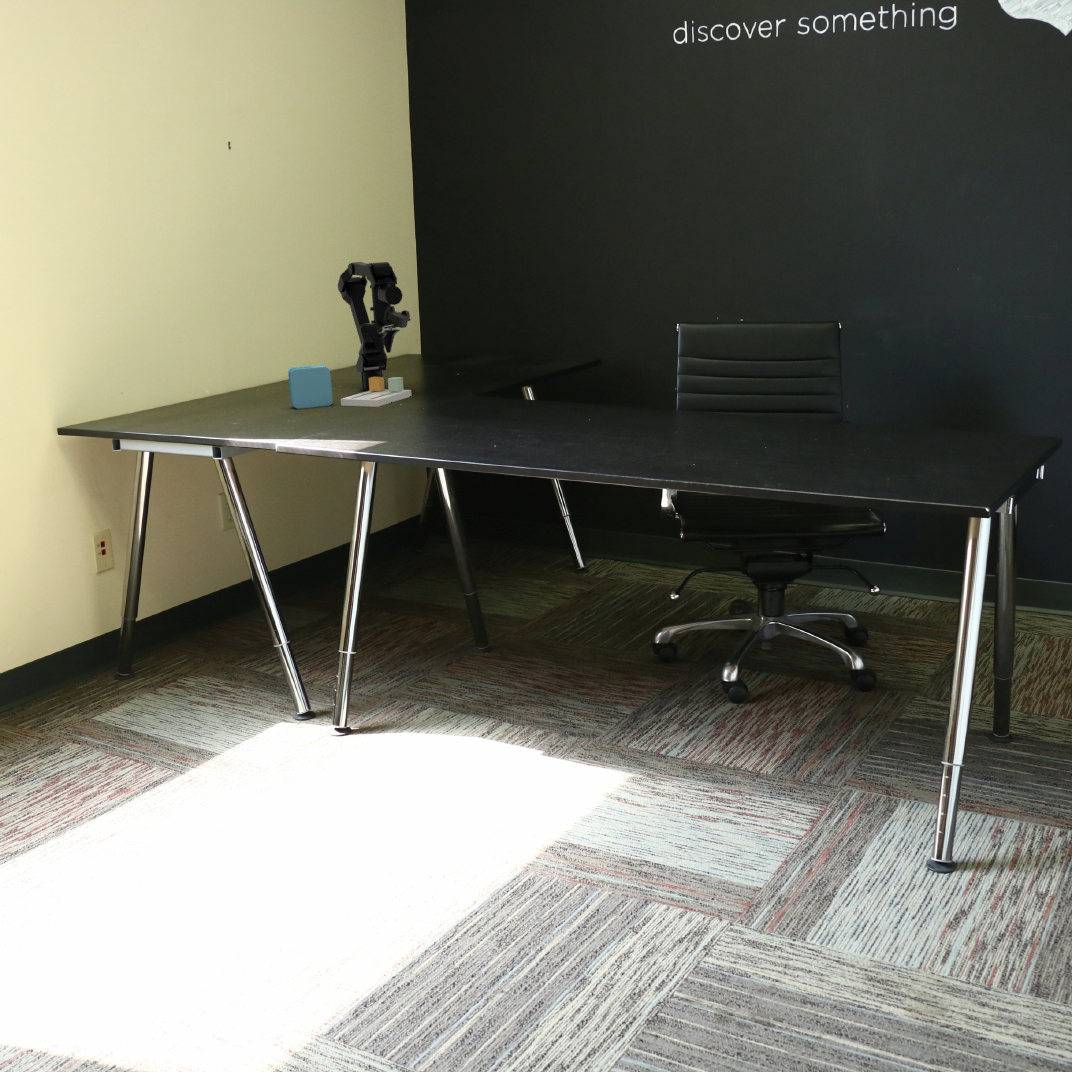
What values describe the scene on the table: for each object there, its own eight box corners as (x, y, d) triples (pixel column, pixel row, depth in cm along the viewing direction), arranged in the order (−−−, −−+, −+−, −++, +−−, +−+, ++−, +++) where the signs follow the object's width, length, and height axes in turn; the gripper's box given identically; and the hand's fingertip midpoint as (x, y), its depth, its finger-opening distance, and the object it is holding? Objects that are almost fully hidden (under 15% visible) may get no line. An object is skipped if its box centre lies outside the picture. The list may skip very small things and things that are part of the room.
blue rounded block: (330, 403, 361) (327, 364, 358) (333, 405, 357) (329, 366, 354) (291, 407, 357) (287, 367, 354) (293, 409, 353) (289, 369, 350)
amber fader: (369, 390, 368) (368, 378, 367) (374, 389, 371) (373, 376, 369) (379, 391, 366) (378, 378, 365) (384, 389, 369) (383, 376, 368)
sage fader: (388, 391, 365) (387, 378, 364) (393, 389, 368) (392, 377, 367) (398, 391, 364) (397, 378, 362) (403, 390, 366) (402, 377, 365)
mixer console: (341, 405, 356) (340, 398, 356) (376, 395, 374) (375, 388, 373) (377, 406, 351) (377, 399, 350) (411, 396, 368) (411, 389, 368)
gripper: (388, 306, 356) (391, 357, 360) (418, 300, 372) (422, 350, 376) (357, 306, 360) (361, 357, 364) (388, 300, 376) (392, 349, 381)
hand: (385, 353), depth 371 cm, fingers open, 4 cm apart
